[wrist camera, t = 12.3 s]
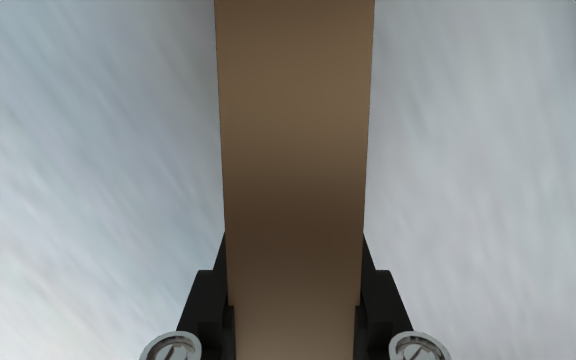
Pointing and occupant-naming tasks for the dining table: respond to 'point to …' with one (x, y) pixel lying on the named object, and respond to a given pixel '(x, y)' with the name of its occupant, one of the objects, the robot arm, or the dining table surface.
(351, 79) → the brown wooden brick
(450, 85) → the dining table surface
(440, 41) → the dining table surface
